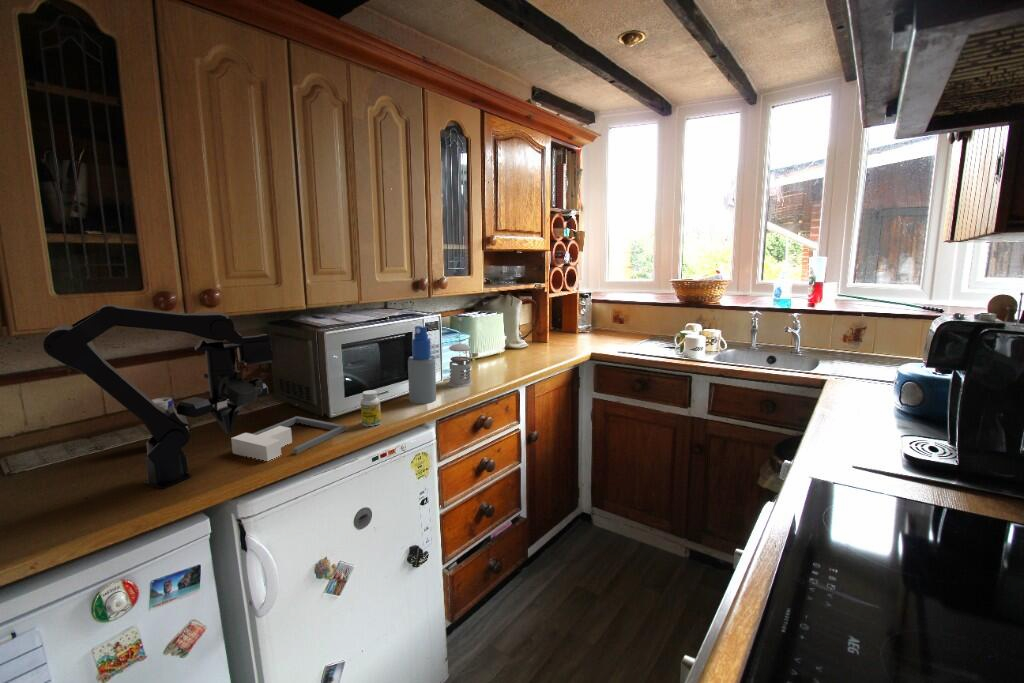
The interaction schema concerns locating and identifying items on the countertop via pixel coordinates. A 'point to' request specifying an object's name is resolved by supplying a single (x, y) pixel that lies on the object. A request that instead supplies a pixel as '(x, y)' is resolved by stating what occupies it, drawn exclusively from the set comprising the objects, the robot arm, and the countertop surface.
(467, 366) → the french press
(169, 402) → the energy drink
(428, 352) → the spray bottle
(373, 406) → the supplement bottle
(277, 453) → the t block
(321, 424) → the grey rectangular rod frame
